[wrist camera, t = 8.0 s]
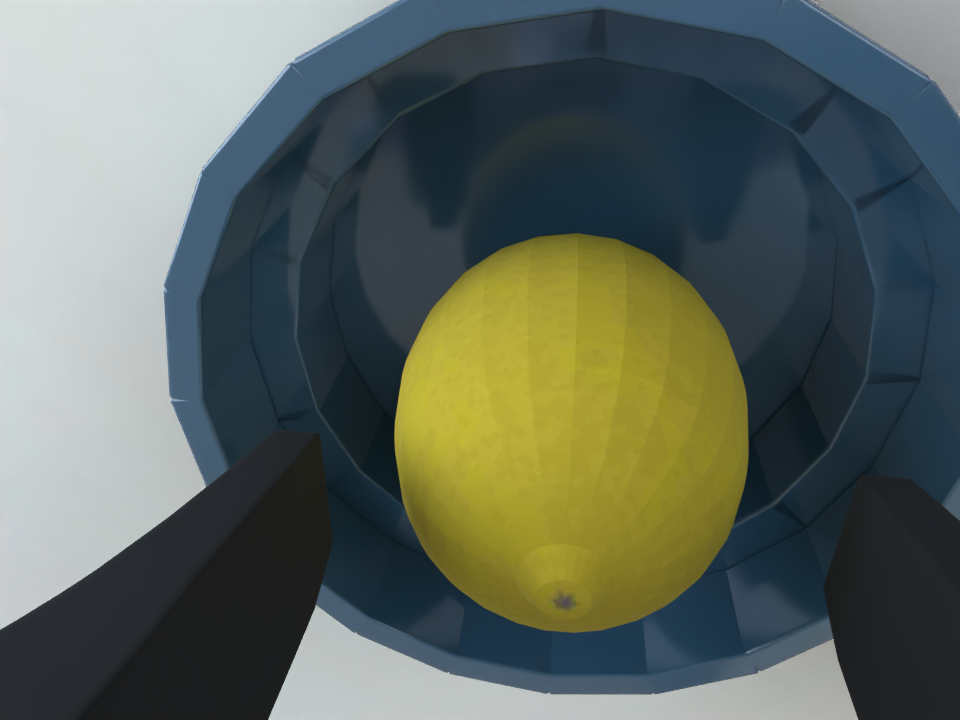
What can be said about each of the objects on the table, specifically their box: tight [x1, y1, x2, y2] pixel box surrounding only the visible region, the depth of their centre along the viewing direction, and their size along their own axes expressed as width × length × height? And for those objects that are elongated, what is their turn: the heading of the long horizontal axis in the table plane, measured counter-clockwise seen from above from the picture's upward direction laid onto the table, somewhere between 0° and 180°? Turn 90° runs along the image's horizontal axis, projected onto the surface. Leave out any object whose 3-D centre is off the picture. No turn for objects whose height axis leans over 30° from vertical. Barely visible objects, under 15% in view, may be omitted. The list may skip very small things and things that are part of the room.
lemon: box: [394, 233, 748, 633], centre depth 13 cm, size 6×6×8 cm
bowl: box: [164, 0, 960, 694], centre depth 14 cm, size 13×13×5 cm
